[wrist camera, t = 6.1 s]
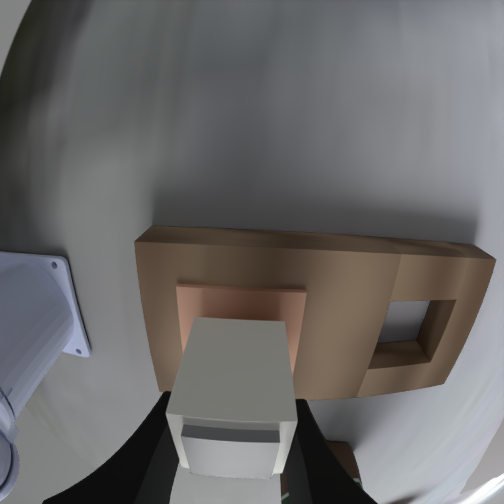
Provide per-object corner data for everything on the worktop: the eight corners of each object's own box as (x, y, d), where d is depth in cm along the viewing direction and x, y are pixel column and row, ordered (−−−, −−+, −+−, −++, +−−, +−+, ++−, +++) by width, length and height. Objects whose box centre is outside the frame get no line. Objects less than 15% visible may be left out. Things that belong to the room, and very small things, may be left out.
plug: (200, 378, 14) (180, 476, 9) (194, 316, 13) (162, 425, 7) (276, 382, 14) (282, 483, 9) (284, 321, 13) (299, 434, 7)
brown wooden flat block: (168, 366, 19) (158, 395, 16) (151, 226, 15) (131, 244, 13) (431, 363, 19) (445, 386, 16) (474, 244, 15) (499, 261, 13)
